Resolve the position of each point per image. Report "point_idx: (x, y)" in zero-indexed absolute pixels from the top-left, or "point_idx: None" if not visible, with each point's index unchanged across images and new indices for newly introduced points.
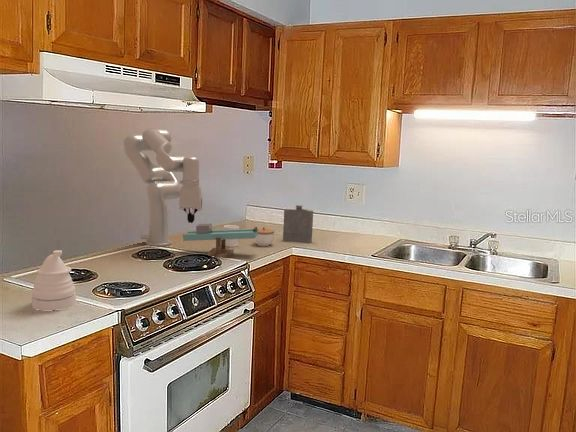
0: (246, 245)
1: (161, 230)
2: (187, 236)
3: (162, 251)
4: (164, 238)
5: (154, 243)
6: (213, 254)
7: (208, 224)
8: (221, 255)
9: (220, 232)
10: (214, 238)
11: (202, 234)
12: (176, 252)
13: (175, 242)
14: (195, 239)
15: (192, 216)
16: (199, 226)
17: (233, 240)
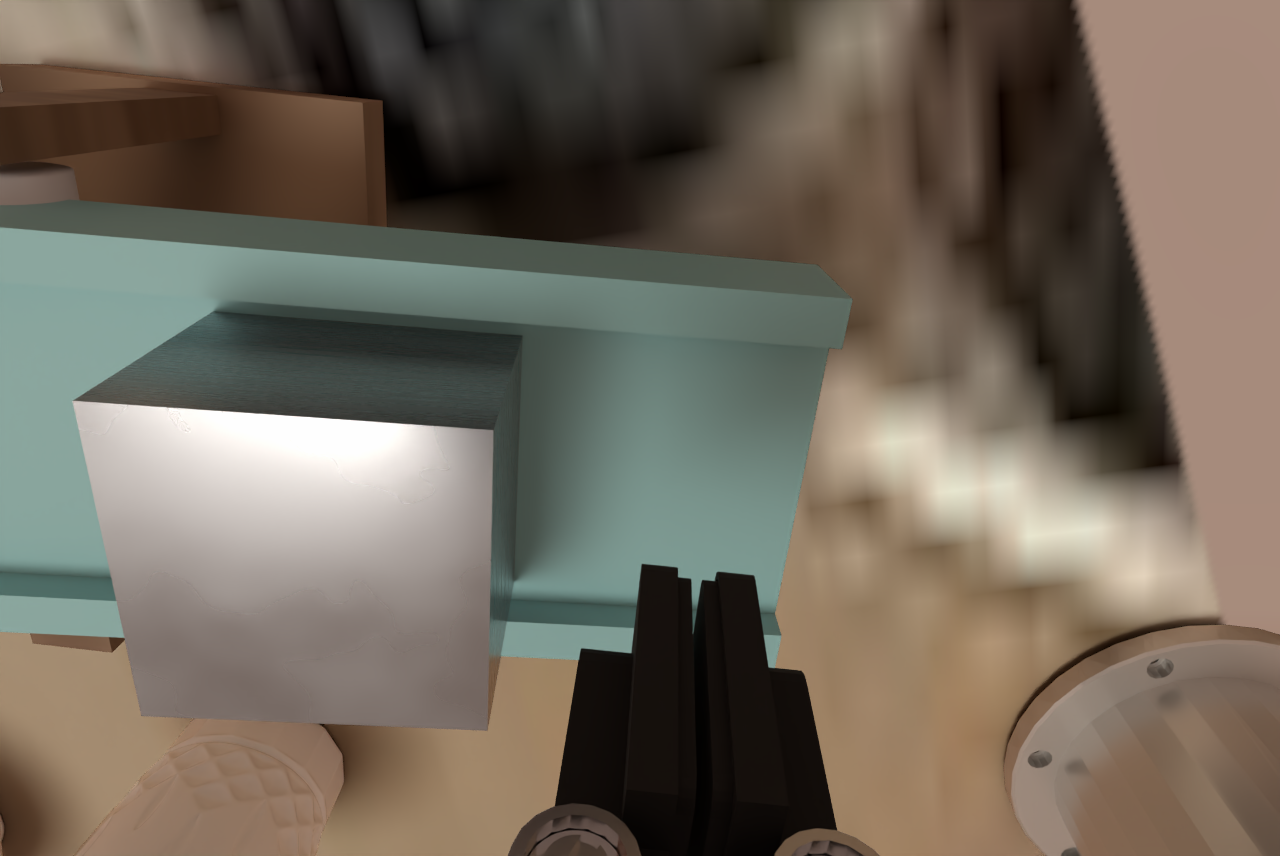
0: (100, 775)
1: (1271, 853)
2: (733, 277)
3: (1121, 345)
4: (1137, 760)
5: (1253, 664)
6: (258, 92)
7: (173, 598)
8: (126, 75)
9: (59, 550)
10: (97, 207)
11: (348, 255)
12: (900, 314)
13: (949, 822)
14: (549, 244)
15: (610, 763)
16: (388, 418)
17: (166, 762)
